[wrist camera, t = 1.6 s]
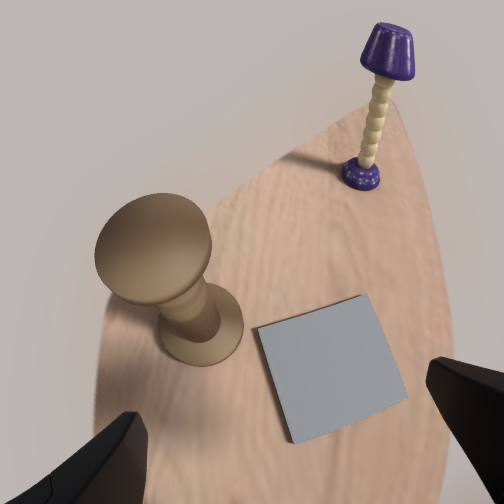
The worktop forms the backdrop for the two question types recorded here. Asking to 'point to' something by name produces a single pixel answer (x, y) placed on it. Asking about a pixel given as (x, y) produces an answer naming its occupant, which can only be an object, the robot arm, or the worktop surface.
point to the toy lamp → (380, 96)
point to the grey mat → (331, 368)
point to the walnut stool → (170, 276)
